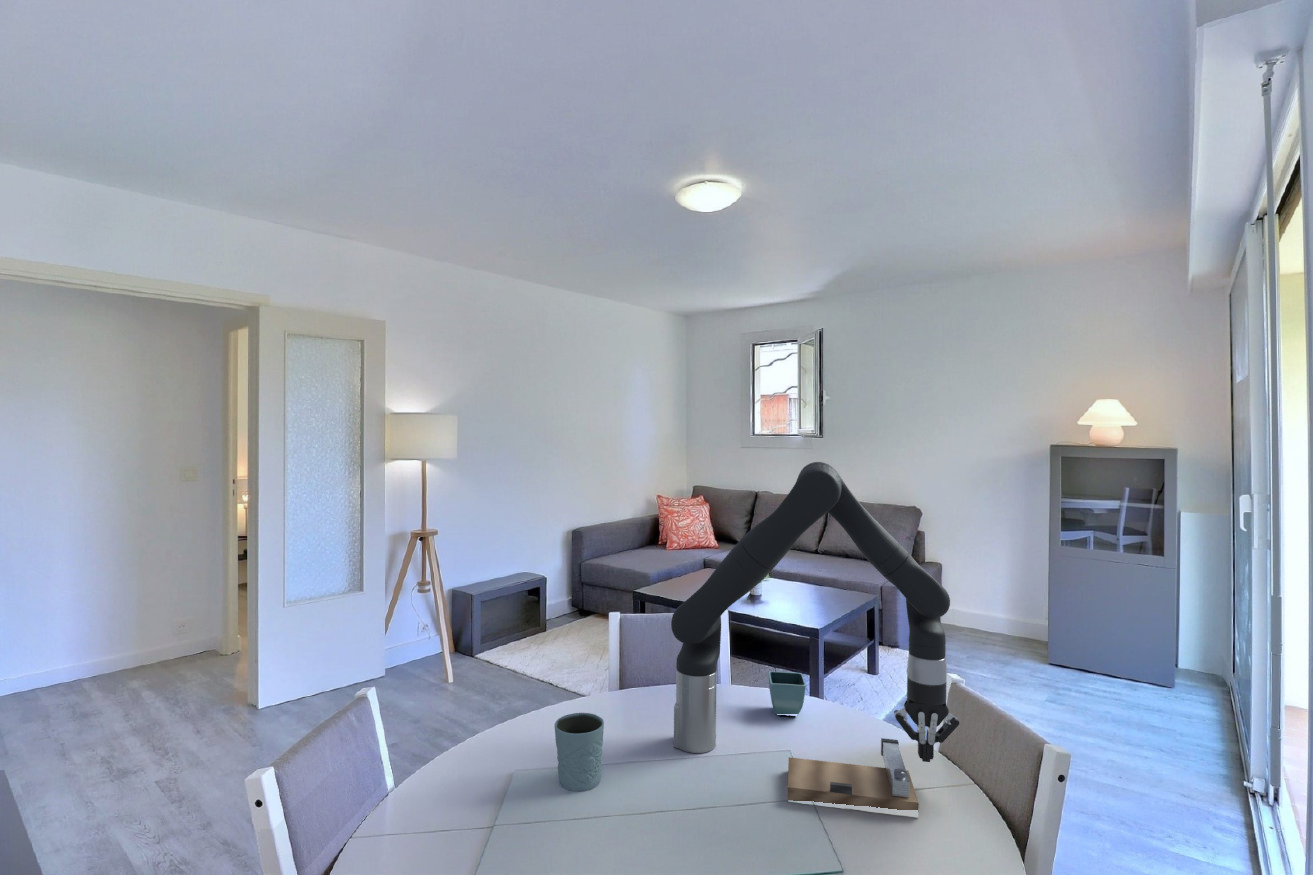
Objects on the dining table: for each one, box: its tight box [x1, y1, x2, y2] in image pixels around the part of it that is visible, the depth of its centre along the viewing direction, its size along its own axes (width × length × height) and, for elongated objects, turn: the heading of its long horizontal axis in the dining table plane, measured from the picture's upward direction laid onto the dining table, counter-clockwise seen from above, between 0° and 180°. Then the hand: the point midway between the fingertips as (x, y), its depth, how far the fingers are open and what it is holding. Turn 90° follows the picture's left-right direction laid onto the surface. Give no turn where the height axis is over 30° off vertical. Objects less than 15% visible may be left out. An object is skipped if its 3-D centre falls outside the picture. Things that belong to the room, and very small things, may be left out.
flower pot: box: [768, 670, 807, 715], centre depth 171 cm, size 9×9×9 cm
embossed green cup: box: [553, 712, 605, 793], centre depth 138 cm, size 10×10×12 cm
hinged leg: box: [880, 737, 910, 798], centre depth 136 cm, size 17×3×4 cm, turn 168°
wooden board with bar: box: [787, 757, 920, 811], centre depth 134 cm, size 24×12×4 cm, turn 78°
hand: (925, 760), depth 138 cm, fingers closed
